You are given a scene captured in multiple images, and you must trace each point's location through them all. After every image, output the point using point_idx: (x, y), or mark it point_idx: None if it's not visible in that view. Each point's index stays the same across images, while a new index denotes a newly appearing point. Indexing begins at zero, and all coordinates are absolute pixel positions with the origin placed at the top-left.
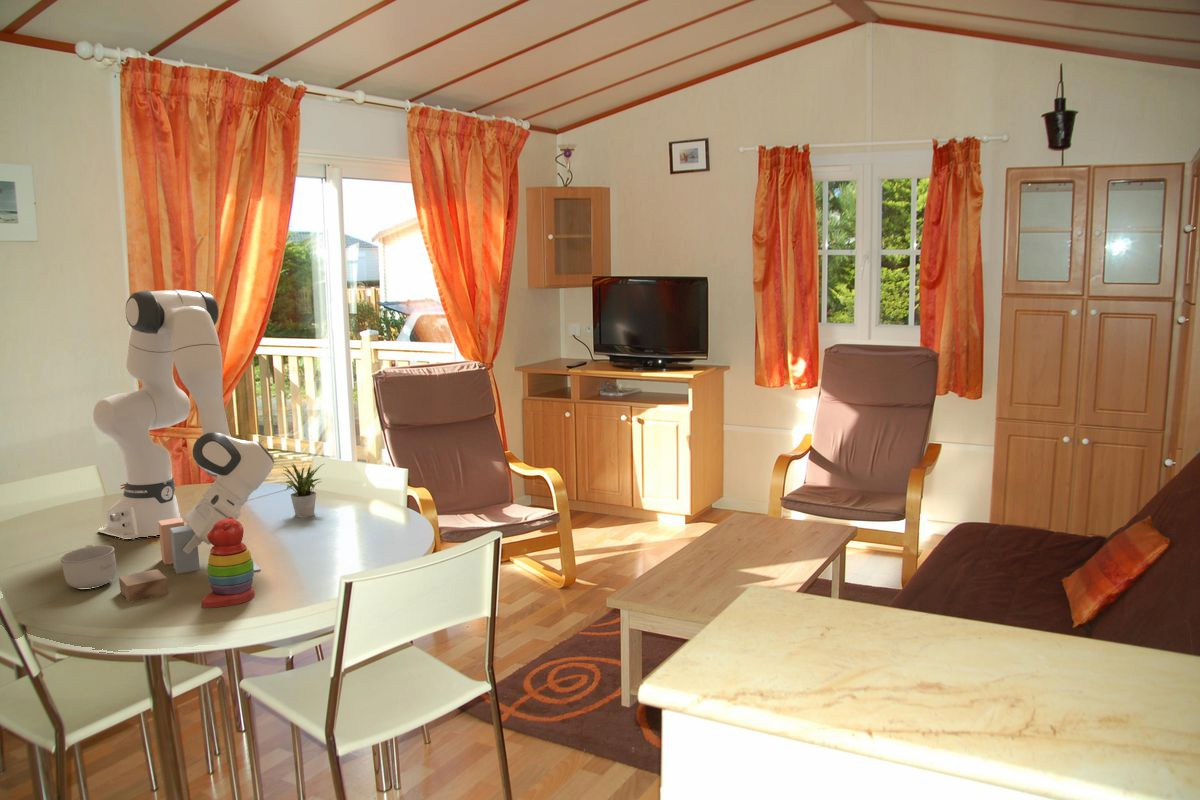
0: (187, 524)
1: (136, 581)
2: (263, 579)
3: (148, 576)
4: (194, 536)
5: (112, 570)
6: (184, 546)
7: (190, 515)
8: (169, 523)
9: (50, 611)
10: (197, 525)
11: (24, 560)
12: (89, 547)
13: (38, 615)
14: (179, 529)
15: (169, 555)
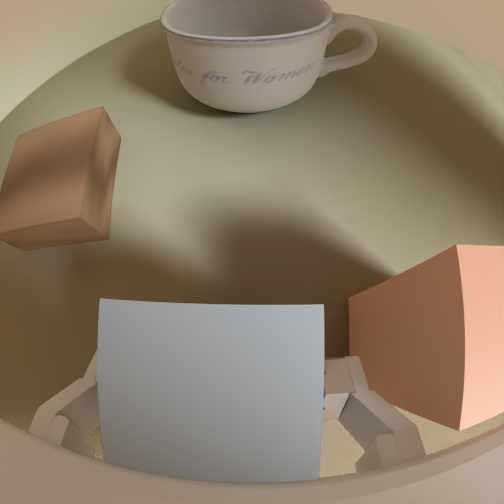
0: (424, 454)
1: (26, 153)
2: None
3: (34, 184)
4: (45, 426)
5: (195, 88)
6: None
7: (470, 500)
8: (479, 314)
9: (125, 45)
10: (41, 493)
11: (483, 68)
12: (327, 12)
13: (121, 37)
14: (195, 382)
15: (363, 315)
